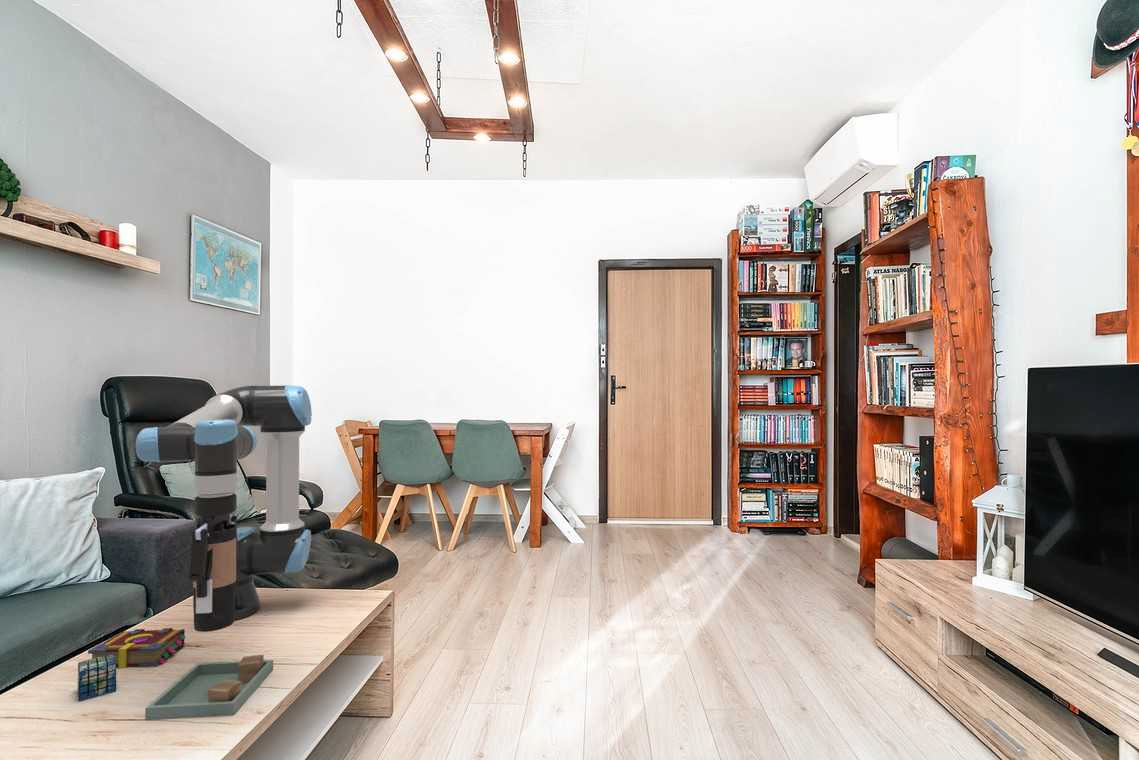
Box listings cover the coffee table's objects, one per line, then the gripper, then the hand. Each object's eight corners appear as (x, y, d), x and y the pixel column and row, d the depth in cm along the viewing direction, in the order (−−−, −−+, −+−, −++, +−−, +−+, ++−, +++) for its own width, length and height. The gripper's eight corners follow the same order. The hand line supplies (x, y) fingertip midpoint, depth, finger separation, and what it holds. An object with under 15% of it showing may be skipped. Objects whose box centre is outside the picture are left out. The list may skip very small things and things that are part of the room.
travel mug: (215, 634, 114) (216, 533, 115) (183, 630, 116) (184, 531, 116) (244, 619, 122) (245, 524, 122) (213, 616, 123) (214, 522, 124)
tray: (197, 676, 127) (197, 663, 127) (273, 673, 128) (273, 659, 128) (145, 723, 109) (145, 707, 109) (233, 719, 110) (234, 703, 111)
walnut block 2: (243, 675, 126) (243, 656, 126) (263, 672, 127) (263, 654, 127) (238, 684, 122) (238, 665, 122) (258, 681, 123) (258, 662, 123)
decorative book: (122, 648, 142) (122, 628, 142) (190, 646, 143) (190, 625, 143) (87, 670, 130) (87, 648, 131) (161, 667, 132) (162, 645, 132)
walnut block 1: (223, 699, 116) (223, 679, 116) (241, 701, 115) (241, 681, 115) (208, 710, 112) (208, 689, 112) (226, 712, 111) (226, 691, 111)
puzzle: (116, 691, 121) (116, 662, 121) (78, 702, 117) (79, 672, 117) (113, 681, 125) (114, 653, 126) (77, 690, 121) (78, 662, 122)
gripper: (221, 486, 129) (221, 588, 129) (166, 504, 109) (165, 625, 108) (256, 485, 130) (256, 587, 130) (208, 503, 110) (207, 623, 109)
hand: (214, 604), depth 119 cm, fingers closed on travel mug, 8 cm apart
